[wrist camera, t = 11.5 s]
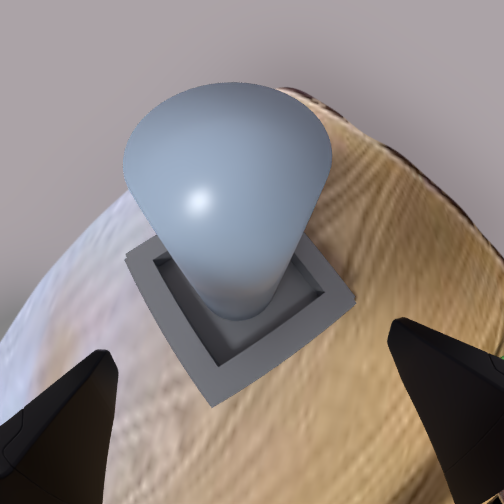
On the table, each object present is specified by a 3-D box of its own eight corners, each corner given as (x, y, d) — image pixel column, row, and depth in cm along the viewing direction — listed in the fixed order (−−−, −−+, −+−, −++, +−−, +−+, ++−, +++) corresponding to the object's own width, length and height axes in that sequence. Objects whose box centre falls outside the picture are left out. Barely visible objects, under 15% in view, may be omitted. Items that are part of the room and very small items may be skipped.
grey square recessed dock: (353, 305, 18) (364, 298, 16) (212, 406, 15) (209, 411, 13) (257, 186, 22) (258, 171, 20) (127, 262, 19) (117, 252, 17)
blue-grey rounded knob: (289, 292, 18) (372, 165, 6) (226, 335, 17) (182, 284, 5) (246, 236, 19) (251, 67, 7) (186, 274, 18) (101, 132, 6)
